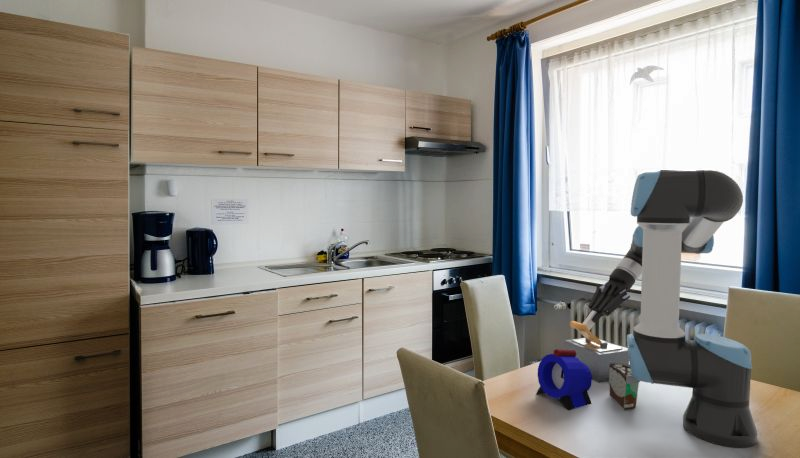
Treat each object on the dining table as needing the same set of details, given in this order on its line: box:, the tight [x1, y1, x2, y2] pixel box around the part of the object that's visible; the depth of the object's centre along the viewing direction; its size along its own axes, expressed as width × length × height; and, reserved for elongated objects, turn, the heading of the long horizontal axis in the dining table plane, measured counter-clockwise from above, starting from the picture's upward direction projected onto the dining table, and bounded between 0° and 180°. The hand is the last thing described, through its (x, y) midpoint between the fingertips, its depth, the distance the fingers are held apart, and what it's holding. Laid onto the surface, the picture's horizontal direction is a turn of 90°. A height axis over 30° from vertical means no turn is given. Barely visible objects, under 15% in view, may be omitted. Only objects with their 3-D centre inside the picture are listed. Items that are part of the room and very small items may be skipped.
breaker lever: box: [569, 320, 601, 345], centre depth 155 cm, size 2×6×10 cm
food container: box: [608, 361, 641, 411], centre depth 133 cm, size 12×6×10 cm, turn 179°
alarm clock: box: [535, 348, 593, 411], centre depth 136 cm, size 12×12×15 cm
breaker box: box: [564, 337, 630, 384], centre depth 157 cm, size 12×16×11 cm
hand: (584, 328), depth 155 cm, fingers closed
